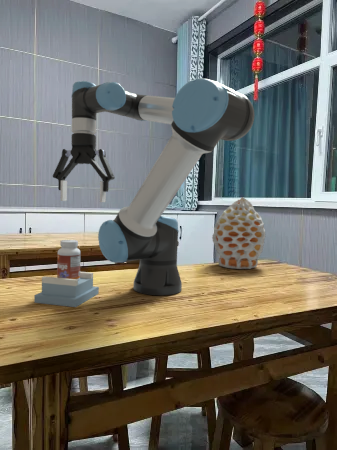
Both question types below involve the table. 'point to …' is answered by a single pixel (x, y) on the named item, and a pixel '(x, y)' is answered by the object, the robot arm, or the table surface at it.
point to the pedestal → (67, 290)
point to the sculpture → (239, 236)
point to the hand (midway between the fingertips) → (82, 201)
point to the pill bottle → (68, 260)
